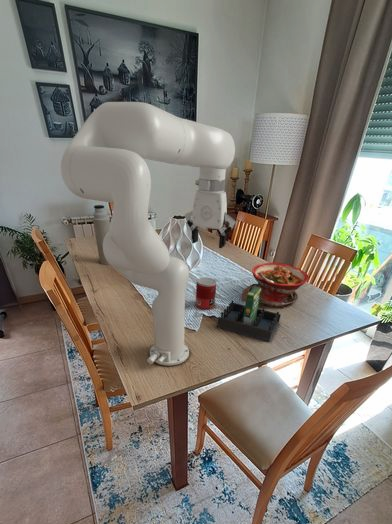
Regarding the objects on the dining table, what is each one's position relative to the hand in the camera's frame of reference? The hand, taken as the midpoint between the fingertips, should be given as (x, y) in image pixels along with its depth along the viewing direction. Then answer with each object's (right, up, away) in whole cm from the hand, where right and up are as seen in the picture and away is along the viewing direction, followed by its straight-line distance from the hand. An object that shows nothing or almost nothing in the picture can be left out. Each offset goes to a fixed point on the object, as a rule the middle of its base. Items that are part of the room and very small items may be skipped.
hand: (208, 244), depth 96 cm
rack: (+16, -26, +14) cm, 33 cm away
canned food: (0, -17, +26) cm, 30 cm away
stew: (+30, -12, +33) cm, 46 cm away
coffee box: (+16, -25, +13) cm, 32 cm away
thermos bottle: (-53, +13, +62) cm, 83 cm away
